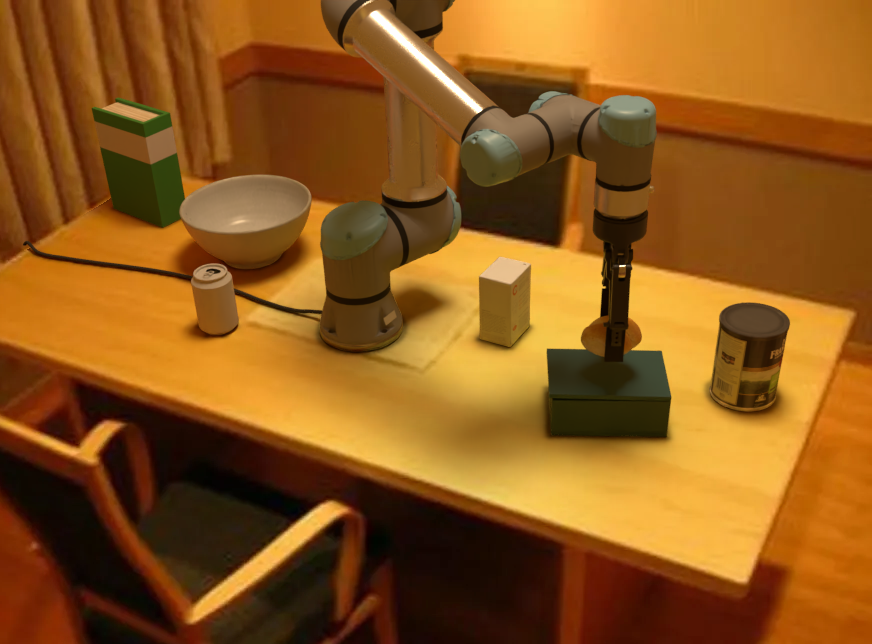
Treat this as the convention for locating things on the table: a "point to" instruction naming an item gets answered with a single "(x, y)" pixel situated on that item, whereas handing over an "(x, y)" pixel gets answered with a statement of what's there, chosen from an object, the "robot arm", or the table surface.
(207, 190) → the decorative bowl
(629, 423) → the box
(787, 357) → the table surface
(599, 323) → the bread roll
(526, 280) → the small box
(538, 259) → the table surface
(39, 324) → the table surface
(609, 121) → the robot arm
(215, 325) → the can
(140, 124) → the hardback book
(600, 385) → the lunchbox lid
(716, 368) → the coffee can
